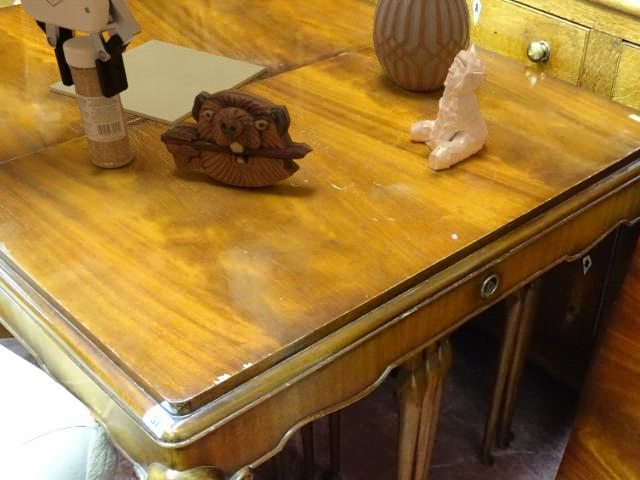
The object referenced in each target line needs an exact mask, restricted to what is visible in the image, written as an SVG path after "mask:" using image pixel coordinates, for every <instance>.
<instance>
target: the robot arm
mask: <svg viewBox="0 0 640 480" xmlns="http://www.w3.org/2000/svg"><path fill="white" fill-rule="evenodd" d="M20 4H21V7H22V9H23V11H24V13H25V14H26V15H27V16H29V17H30V18H32V20H34V21H35V22H36V24H37V26H38V27H39V28H40V29H41V31H42V32H43V33H44V34H45V35H46V37H45V38H46V42H47V44H48V45H49V46H50V47H51V48H53V51H54V55H55V60H56V63H57V67H58V71H59V75H60V79H61V81H62V83H63V85H65V86H72V85H74V82H73V79H72V74H71V70H70V67H69V66H68V63H67V62H66V59H65V55H64V50H63V44H64V42H66V41H67V40H69V39H71V38H74V37H77V34H76V33H77V32H79V33H84V34H87V35H90V36H91V39H92V41H93V44H94V46H95V49H96V51H97V54H98V56H99V59H97V60H95V65H96V69H97V74H98V78H99V83H100V87H101V91H102V95H103V96H104V97H107V98H111V97H113V96H115V95H117V94H119V93H121V92H123V91H125V90H127V89H128V81H127V77H126V72H125V67H124V62H123V57H122V54H123V53H125V52H126V51H127V48H128V46H129V45H130V44H131V42H132V41H134V40H135V38H137V37H138V36H139V35H141V33H142V28H141V25H140V24H139V23H138V22H137V20H136V19H135V17H134V15H133V13H132V12H131V11H130V9H129V5H128V0H20ZM106 32H107V35H108V37H109V38H108V39H107V40H108V41H107V43H106V41H105V39H104V38H105V37H104V36H105V35H104V34H103V33H106Z"/></svg>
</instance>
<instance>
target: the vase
mask: <svg viewBox="0 0 640 480" xmlns="http://www.w3.org/2000/svg"><path fill="white" fill-rule="evenodd" d="M374 9H375V10H374V15H373V23H372V40H373V48H374V52H375V55H376V58H377V61H378V63H379V65H380V67H381V68H382V70H383V71H384V73H385V74H386V75H387V76H388V77H389V78H390V79H391V80H392V81H393V82H394V83H395V84H396V85H398V86H399V87H400V88H402V89H405V90H408V91H411V92H412V91H413V92H431V91H435V90H439V89H441V88H442V87H443V86H444V82H445V81H446V77H447V74H448V73H449V68H451V65H452V64H453V63H454V58H455V57H456V56H457V54H458V53H459V52H460V51H461V50H465V51H467V50H469V48H470V42H471V34H472V33H471V32H472V31H471V29H472V28H471V27H472V24H471V14H470V9H469V6H468V2H467V0H378V1H377V4H376V6H375V8H374Z"/></svg>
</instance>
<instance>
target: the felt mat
mask: <svg viewBox="0 0 640 480" xmlns="http://www.w3.org/2000/svg"><path fill="white" fill-rule="evenodd" d="M122 57H123V62H124V67H125V72H126V77H127V81H128V89H127V90H125V91H123V92H121V93H120V98H121V103H122V105H123V109H124V113H126V114H130V115H134V116H137V117H140V118H144V119H147V120H151V121H154V122H158V123H162V124H165V125H168V126H170V127H172V126H176V125H178V124H179V123H181V122H184V121H185V120H186V119H188V118H190V117H192V108H193V105H194V100H195V97H196V96H197V95H198V94H199V93H200V92H201V91H206V92H208V93H210V94H213V93H216V92H219V91H222V90H228V89H237V90H238V89H239V88H241V87H242V86H244V85H246V84H247V83H249V82H251V81H253V80H254V79H256V78H258V77H259V76H261V75H263V74H265V73H266V72H267V71H268V70H267V67H266V66H262V65H259V64H255V63H250V62H246V61H242V60H238V59H233V58H231V57H226V56H222V55H218V54H214V53H211V52H206V51H202V50H199V49H194V48H190V47H187V46H181V45H178V44H175V43H174V44H173V43H169V42H165V41H162V40H157V39H150V40H148V41H146V42H144V43H142V44H139V45H138V46H135V47H132V48H130V49H127V50H126V52H125V53H123V54H122ZM48 89H49V91H50V92H53V93H56V94H60V95H63V96H67V97H71V98H74V99H77V97H76V93H75V86H74V85H72V86H65V85H63V83H62V80H60V81H57V82H55V83H53V84H51V85H49V86H48Z"/></svg>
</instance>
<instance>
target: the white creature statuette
mask: <svg viewBox="0 0 640 480" xmlns="http://www.w3.org/2000/svg"><path fill="white" fill-rule="evenodd" d="M486 81H487V73H486V66H485V65H484V64H483V60H482V59H480V58H478V56H477V55H476V54H473V52H471V51H470V50H469V49H468V50H467V51H465V50H461V51H460V52H459V53H458V54H457V56H456V57H455V58H454V63H453V64H452V65H451V68H449V73H448V74H447V77H446V81H445V82H444V85H443V86H444V91H443V92H442V96H441V97H440V99H439V100H438V112H437V114H436V115H437V117H436V119H431V120H430V119H423V120H422V119H420V120H418V121H415V122H412V123H411V122H410V125H409V126H410V127H409V137H410V138H409V139H410V141H413V142H415V143H416V142H417V143H418V142H419V143H424V144H425V145H426V146H428V147H429V149H430V151H431V152H430V154H429V155H428V165H429V167H430V169H432V170H434V171H437V170H438V171H440V170H445V169H450V167H451V166H454V165H455V164H458V163H459V162H463V161H464V160H465V159H468V158H469V157H471V156H473V155H475V154H477V153H478V152H479V150H481V149H483V145H484V144H485V143H486V141H487V139H488V137H489V134H490V133H489V130H488V127H487V124H486V122H485V118H484V116H483V115H482V112H481V111H480V109H481V107H480V105H479V101H478V99H479V98H478V97H477V96H476V95H477V94H475V90H477V89H478V88H479V86H481V85H484V83H485V82H486Z"/></svg>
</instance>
